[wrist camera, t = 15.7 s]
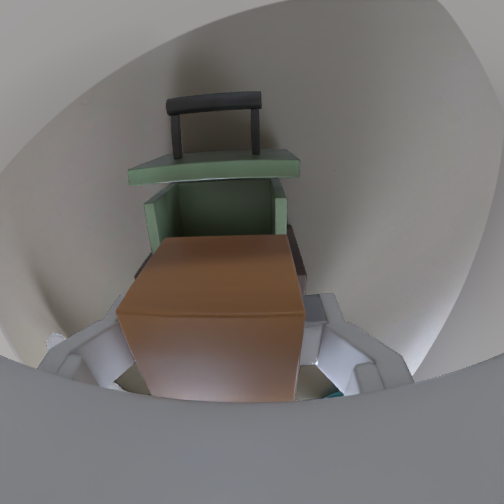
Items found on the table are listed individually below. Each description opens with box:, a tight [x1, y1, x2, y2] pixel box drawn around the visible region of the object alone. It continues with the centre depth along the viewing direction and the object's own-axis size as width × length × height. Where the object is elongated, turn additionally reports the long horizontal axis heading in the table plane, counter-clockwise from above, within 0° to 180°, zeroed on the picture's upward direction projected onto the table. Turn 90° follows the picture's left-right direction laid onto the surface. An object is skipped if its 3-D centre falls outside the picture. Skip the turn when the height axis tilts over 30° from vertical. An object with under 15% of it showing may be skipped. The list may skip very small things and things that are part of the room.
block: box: [116, 234, 306, 402], centre depth 9 cm, size 4×4×4 cm
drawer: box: [128, 91, 300, 255], centre depth 23 cm, size 20×12×8 cm, turn 2°
